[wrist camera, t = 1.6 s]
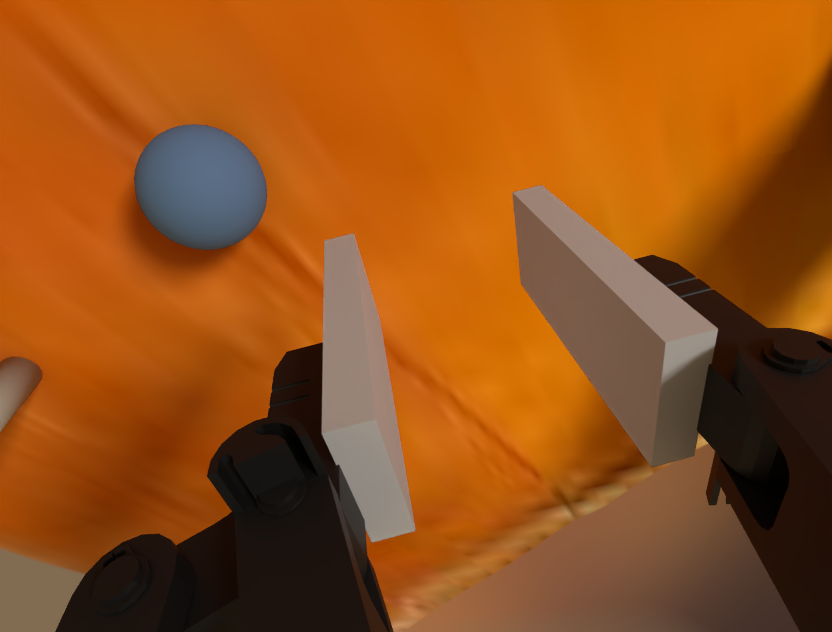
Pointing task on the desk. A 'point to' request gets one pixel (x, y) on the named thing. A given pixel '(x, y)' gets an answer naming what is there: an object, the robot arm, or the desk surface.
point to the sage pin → (16, 385)
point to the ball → (200, 187)
